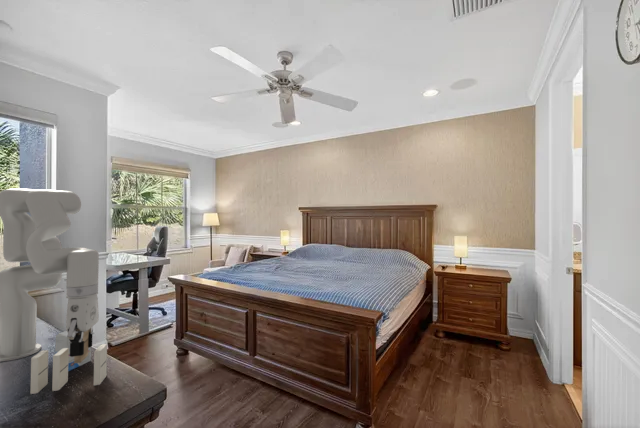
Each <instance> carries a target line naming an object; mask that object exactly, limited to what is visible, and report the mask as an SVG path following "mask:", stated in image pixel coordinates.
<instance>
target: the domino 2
mask: <svg viewBox="0 0 640 428" xmlns="http://www.w3.org/2000/svg"><path fill="white" fill-rule="evenodd" d="M68 357H69V348H63V349H61V350H60V351H59V352H57V353H56V354H55V353H54V354H53V355H52V383H51V385H52V386H51V387H52V388H51V390H52V391H51V392H54V391H55V392H56V391H60V390H61V389H62V388H63V387H64V386H65V385H66V384H67V383H68V382H69V371H68Z"/></svg>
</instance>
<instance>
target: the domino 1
mask: <svg viewBox="0 0 640 428" xmlns="http://www.w3.org/2000/svg"><path fill="white" fill-rule="evenodd" d="M30 360H31V361H30V390H29V391H30V393H29V394H30V395H32V394H34V395H35V394H38V393H40V391H42V389H43V388H45V387H46V386H47V385H48V384H49V382H48V381H49V380H48V379H49V378H48V377H49V349H46V350H45V349H44V350H41V351H40V352H39V351H38V352H37V353H36V354H35V355H33V356H32V357H31V358H30Z"/></svg>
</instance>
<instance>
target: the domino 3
mask: <svg viewBox="0 0 640 428" xmlns="http://www.w3.org/2000/svg"><path fill="white" fill-rule="evenodd" d="M76 331H80V330H79V329H76ZM76 335H78V336H79V335H80V333H76ZM88 335H89V330H87V331H86V332H84V333H83V341H84V354H83V355H82V356H74V363H81V362H82V361H83V360H84V359H85V358H86V357H87V356H88Z"/></svg>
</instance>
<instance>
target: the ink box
mask: <svg viewBox="0 0 640 428" xmlns="http://www.w3.org/2000/svg"><path fill="white" fill-rule="evenodd" d="M67 334H68V332H67V331H66V330H65V331H62V332H59V333H57V334H56V335H55V349H54V351H55V352H54V355H55V354H56V353H57V352H59V351H60V350H61V349H63V348H69V357H68V372H70V371H73V370H74V369H75V370H76V368H78V367H81V366H83V365H85V364H87V363H89V362H91V360H92V359H91V358H92V347H89V348H88V356H87V357H86V358H85V359H84V360H83V361H82V362H81V363H74V356H73V357H71V356H70V343H69V341H70V340H69V338H68V337H67ZM91 334H92V335H93V333H91Z"/></svg>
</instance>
